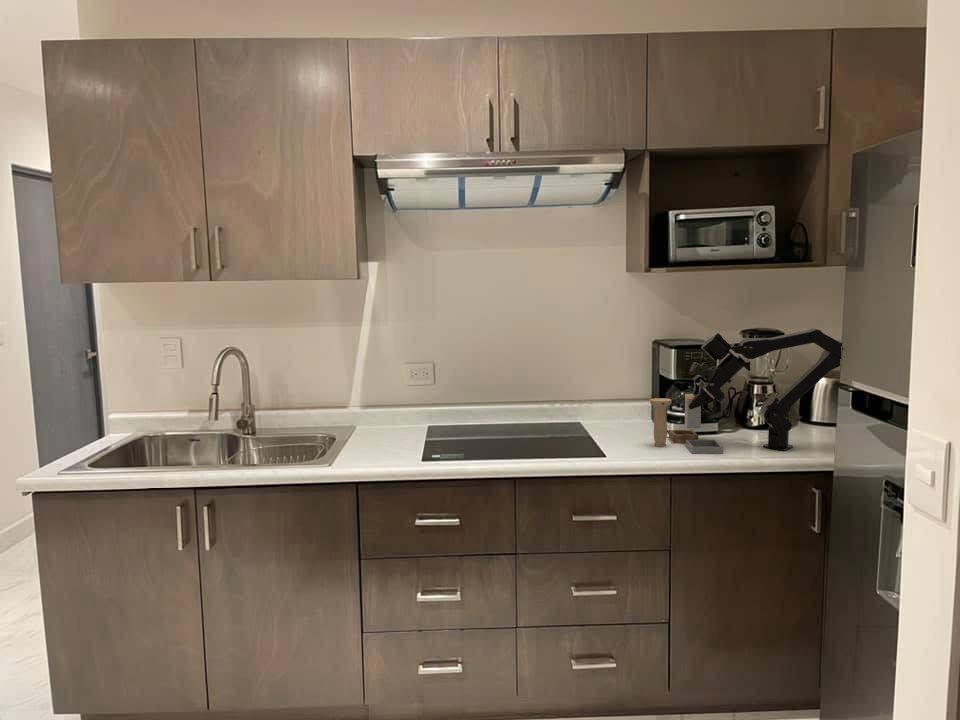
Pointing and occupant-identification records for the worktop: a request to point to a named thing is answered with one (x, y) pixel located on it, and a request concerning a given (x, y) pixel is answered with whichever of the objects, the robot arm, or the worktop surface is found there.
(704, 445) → the tray
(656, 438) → the handle
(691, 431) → the holder
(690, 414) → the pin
